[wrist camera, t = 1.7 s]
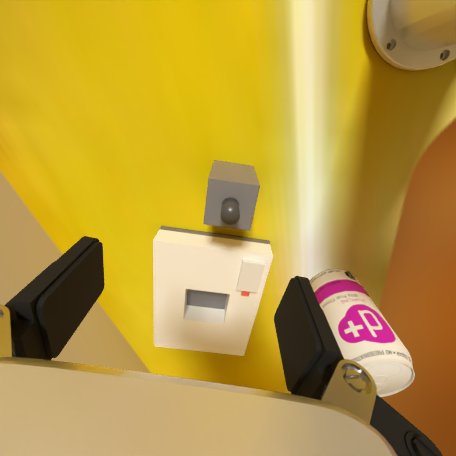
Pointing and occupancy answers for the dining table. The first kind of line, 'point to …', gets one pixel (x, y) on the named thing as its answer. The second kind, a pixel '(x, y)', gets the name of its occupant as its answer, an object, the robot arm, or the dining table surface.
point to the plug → (231, 195)
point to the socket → (207, 289)
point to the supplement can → (363, 331)
